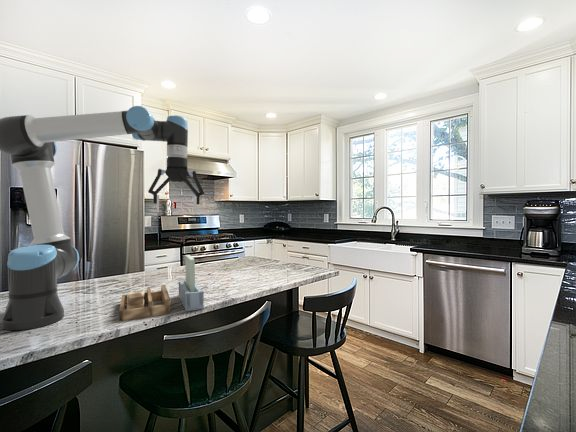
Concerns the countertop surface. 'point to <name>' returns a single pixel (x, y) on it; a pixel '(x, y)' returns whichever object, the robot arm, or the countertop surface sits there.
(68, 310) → the countertop surface
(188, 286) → the sheet
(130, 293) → the offcut pine
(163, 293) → the rack
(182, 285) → the stand
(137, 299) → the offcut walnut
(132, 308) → the offcut oak
